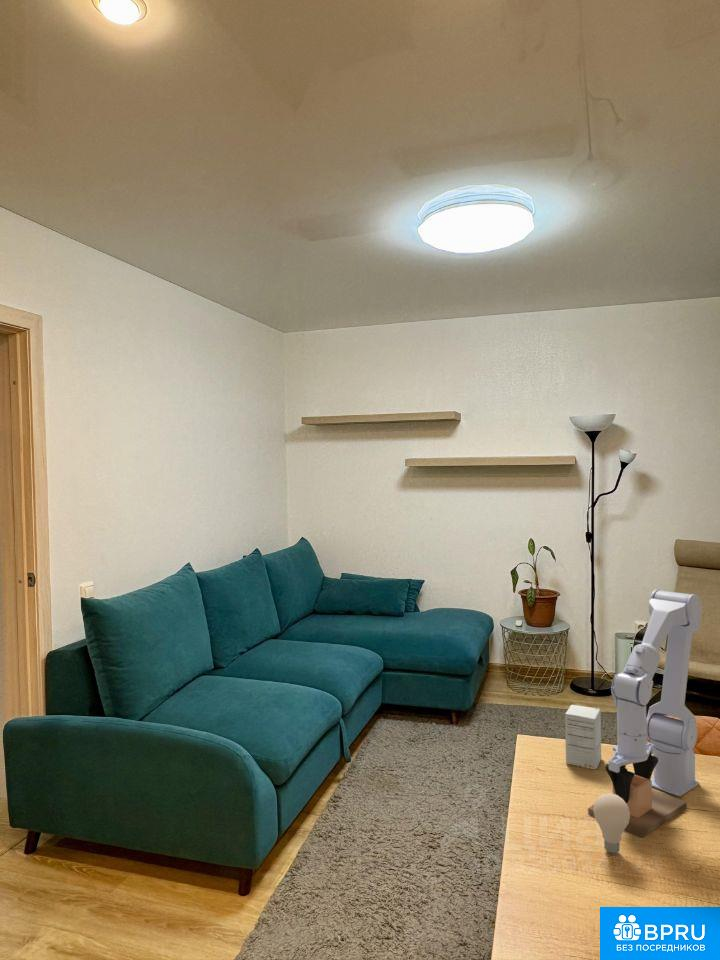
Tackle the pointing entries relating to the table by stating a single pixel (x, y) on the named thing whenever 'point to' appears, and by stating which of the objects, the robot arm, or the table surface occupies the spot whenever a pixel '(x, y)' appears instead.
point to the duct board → (653, 814)
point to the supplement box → (583, 736)
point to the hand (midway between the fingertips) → (632, 795)
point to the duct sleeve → (639, 796)
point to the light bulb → (611, 819)
